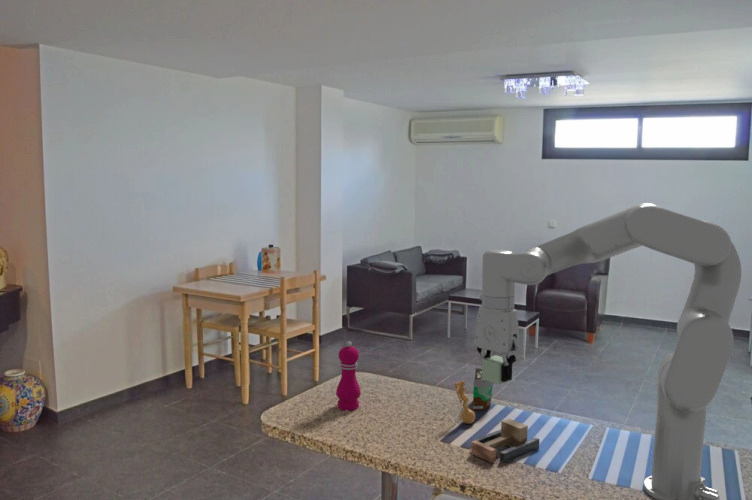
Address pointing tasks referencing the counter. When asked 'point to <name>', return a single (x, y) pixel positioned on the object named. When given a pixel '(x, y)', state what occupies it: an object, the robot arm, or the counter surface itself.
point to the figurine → (467, 414)
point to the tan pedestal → (501, 440)
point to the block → (492, 369)
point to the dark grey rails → (513, 451)
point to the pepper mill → (348, 379)
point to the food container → (481, 392)
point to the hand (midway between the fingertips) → (496, 376)
